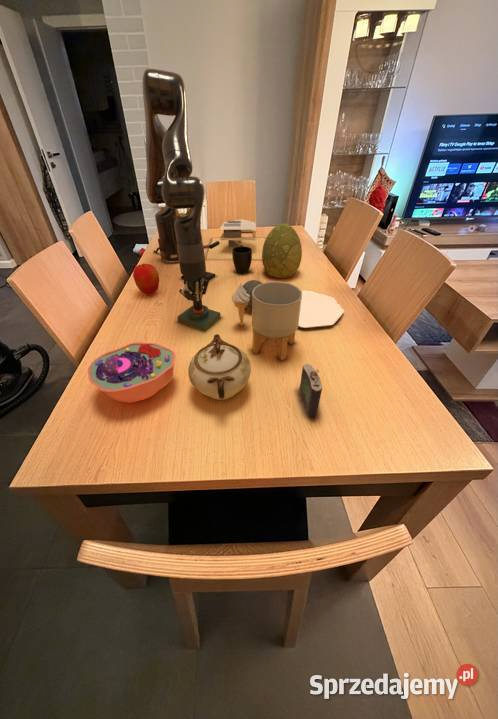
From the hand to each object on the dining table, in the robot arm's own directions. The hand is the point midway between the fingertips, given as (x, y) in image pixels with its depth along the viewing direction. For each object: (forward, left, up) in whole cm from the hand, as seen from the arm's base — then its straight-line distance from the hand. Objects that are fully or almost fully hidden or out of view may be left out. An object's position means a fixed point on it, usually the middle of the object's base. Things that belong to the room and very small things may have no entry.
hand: (198, 309), depth 97 cm
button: (0, 0, -2) cm, 2 cm away
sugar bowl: (+24, -23, -4) cm, 33 cm away
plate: (+29, +23, -4) cm, 37 cm away
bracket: (-20, +26, -4) cm, 33 cm away
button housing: (0, 0, -4) cm, 4 cm away
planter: (+28, -1, -4) cm, 28 cm away
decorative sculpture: (+8, +47, -4) cm, 48 cm away
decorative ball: (+12, +16, -4) cm, 20 cm away
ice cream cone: (+14, +4, -4) cm, 15 cm away
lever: (-15, +26, +8) cm, 31 cm away
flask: (+45, -17, -4) cm, 48 cm away
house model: (-23, +64, -4) cm, 68 cm away
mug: (-8, +42, -4) cm, 43 cm away
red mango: (-28, +6, -4) cm, 29 cm away
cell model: (+6, -33, -4) cm, 34 cm away
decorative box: (-54, +59, -4) cm, 80 cm away
